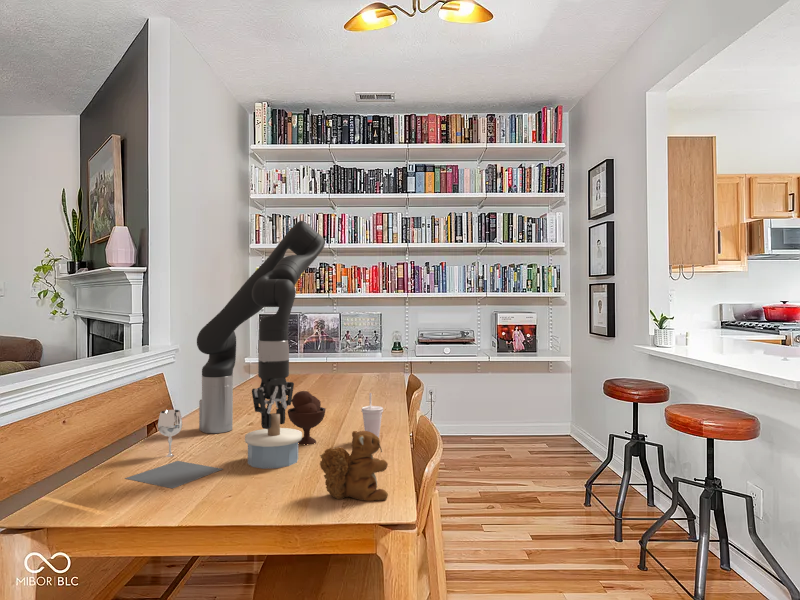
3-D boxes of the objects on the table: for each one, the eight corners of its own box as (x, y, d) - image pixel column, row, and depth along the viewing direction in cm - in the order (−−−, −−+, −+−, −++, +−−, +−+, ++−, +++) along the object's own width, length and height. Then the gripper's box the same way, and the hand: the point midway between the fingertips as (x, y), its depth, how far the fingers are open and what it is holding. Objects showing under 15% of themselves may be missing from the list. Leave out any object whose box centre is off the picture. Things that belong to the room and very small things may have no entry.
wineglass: (186, 455, 142) (187, 410, 142) (170, 462, 137) (171, 414, 137) (169, 453, 144) (169, 408, 144) (152, 459, 139) (153, 412, 139)
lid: (232, 442, 133) (232, 417, 133) (269, 430, 146) (269, 407, 146) (278, 449, 127) (279, 422, 127) (313, 436, 140) (313, 411, 140)
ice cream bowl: (318, 448, 150) (319, 394, 150) (280, 446, 152) (281, 392, 152) (331, 439, 160) (331, 388, 160) (295, 437, 162) (295, 387, 162)
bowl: (238, 466, 133) (238, 442, 133) (269, 454, 144) (269, 431, 144) (277, 473, 128) (277, 447, 128) (307, 459, 139) (307, 436, 139)
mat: (124, 480, 122) (124, 478, 122) (177, 463, 136) (177, 460, 136) (172, 491, 116) (172, 488, 116) (223, 471, 129) (223, 468, 129)
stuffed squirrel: (391, 500, 111) (391, 436, 111) (322, 506, 108) (322, 439, 108) (382, 484, 121) (382, 425, 121) (318, 489, 118) (318, 428, 118)
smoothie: (361, 438, 161) (361, 391, 161) (382, 438, 162) (382, 391, 162) (361, 444, 155) (361, 395, 155) (383, 443, 155) (384, 394, 155)
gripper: (279, 355, 144) (279, 419, 144) (242, 360, 131) (242, 430, 131) (302, 356, 141) (302, 422, 141) (267, 362, 128) (266, 434, 128)
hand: (273, 425), depth 136 cm, fingers open, 5 cm apart
